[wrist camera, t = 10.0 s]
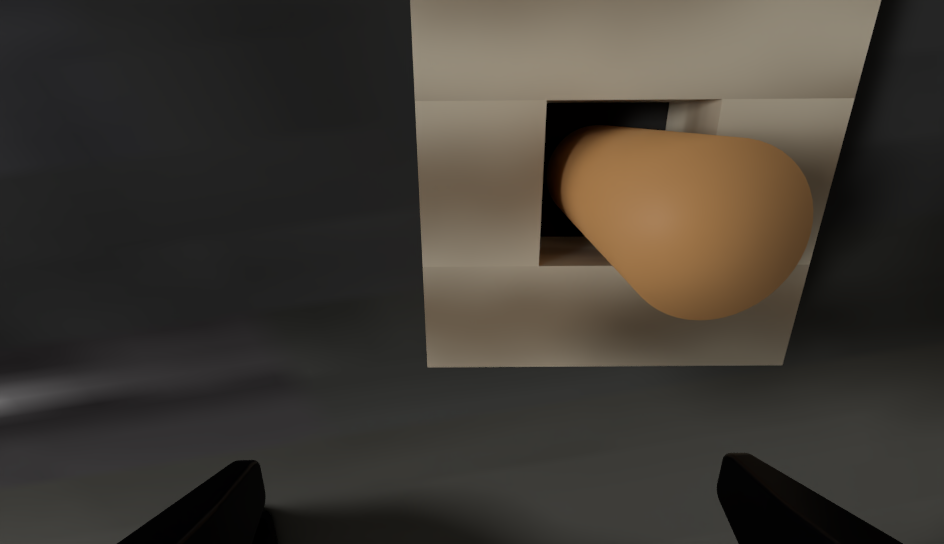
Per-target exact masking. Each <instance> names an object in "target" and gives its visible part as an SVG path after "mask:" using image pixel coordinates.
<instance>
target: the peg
mask: <svg viewBox="0 0 944 544" xmlns="http://www.w3.org/2000/svg"><path fill="white" fill-rule="evenodd" d="M547 187H548V190H549V193H550V195H551V198H552V199H553V201H554V203H555V204H556V205H557V206H558V207H559V209H560V210H561V211H562V212H563V213H564V214H565V215H566V216H567V217H568V218H569V219H570V220H571V222H572V223H573V224H574V225H575V226H576V227H577V228H578V229H579V230H580V231H581V232H582V233H583V235H584V236H585V237H586V238H587V239H588V240H589V241H590V242H591V243H592V244H593V245H594V246H595V248H596V249H597V250H598V251H599V252H600V253H601V254H602V255H603V256H604V257H605V258H606V259H607V261H608V262H609V263H610V264H611V265H612V266H613V267H614V268H615V269H616V270H617V271H618V272H619V274H620V275H621V276H622V277H623V278H624V279H625V280H626V281H627V282H628V283H629V284H630V285H631V287H632V288H633V289H634V290H635V291H636V292H637V293H638V294H639V295H640V296H641V297H642V298H643V299H644V300H645V301H646V302H647V303H648V304H650V305H651V306H653V307H654V308H656V309H657V310H659V311H661V312H663V313H665V314H667V315H670V316H674V317H677V318H681V319H687V320H713V319H718V318H724V317H727V316H731V315H734V314H737V313H739V312H742V311H744V310H746V309H748V308H750V307H752V306H754V305H756V304H758V303H759V302H760V301H762V300H763V299H765V298H766V297H768V296H769V295H770V294H771V293H773V292H774V291H775V290H776V289H777V288H778V287H779V286H780V285H781V284H782V283H783V282H784V281H785V280H786V279H787V278H788V277H789V275H790V274H791V273H792V271H793V270H794V269H795V267H796V266H797V264H798V262H799V261H800V259H801V257H802V255H803V253H804V251H805V249H806V247H807V244H808V241H809V238H810V234H811V229H812V224H813V199H812V195H811V191H810V187H809V185H808V182H807V180H806V177H805V176H804V174H803V172H802V171H801V169H800V168H799V166H798V165H797V164H796V163H795V162H794V161H793V159H792V158H790V157H789V156H788V155H787V154H786V153H784V152H783V151H782V150H780V149H778V148H776V147H775V146H773V145H771V144H768V143H765V142H762V141H759V140H755V139H750V138H741V137H730V136H719V135H708V134H697V133H686V132H675V131H663V130H652V129H641V128H630V127H619V126H608V125H590V126H585V127H582V128H580V129H577V130H575V131H573V132H572V133H570V134H569V135H567V136H566V137H565V138H564V139H563V140H562V141H561V142H560V143H559V144H558V145H557V147H556V148H555V150H554V151H553V153H552V155H551V158H550V160H549V163H548V167H547Z"/></svg>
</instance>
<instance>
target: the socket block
mask: <svg viewBox="0 0 944 544" xmlns="http://www.w3.org/2000/svg"><path fill="white" fill-rule="evenodd" d="M880 3H881V0H410V4H411V25H412V47H413V68H414V89H415V111H416V132H417V153H418V175H419V196H420V217H421V238H422V260H423V281H424V302H425V324H426V345H427V366H428V367H564V366H743V365H783V361H784V357H785V354H786V350H787V346H788V342H789V339H790V335H791V331H792V328H793V324H794V320H795V317H796V313H797V309H798V306H799V302H800V298H801V294H802V291H803V287H804V283H805V280H806V276H807V272H808V269H809V265H810V261H811V258H812V254H813V250H814V246H815V243H816V239H817V235H818V232H819V228H820V224H821V221H822V217H823V213H824V210H825V206H826V202H827V198H828V195H829V191H830V187H831V184H832V180H833V176H834V173H835V169H836V165H837V162H838V158H839V154H840V150H841V147H842V143H843V139H844V136H845V132H846V128H847V125H848V121H849V117H850V114H851V110H852V106H853V102H854V99H855V95H856V91H857V88H858V84H859V80H860V77H861V73H862V69H863V66H864V62H865V58H866V54H867V51H868V47H869V43H870V40H871V36H872V32H873V29H874V25H875V21H876V18H877V14H878V10H879V6H880ZM602 102H669V109H668V116H667V123H666V131H675V132H686V133H697V134H708V135H719V136H730V137H741V138H750V139H755V140H759V141H762V142H765V143H768V144H771V145H773V146H775V147H776V148H778V149H780V150H782V151H783V152H784V153H786V154H787V155H788V156H789V157H790V158H792V159H793V161H794V162H795V163H796V164H797V165H798V166H799V168H800V169H801V171H802V172H803V174H804V176H805V177H806V180H807V182H808V185H809V187H810V191H811V195H812V199H813V224H812V229H811V234H810V238H809V241H808V244H807V247H806V249H805V251H804V253H803V255H802V257H801V259H800V261H799V262H798V264H797V266H796V267H795V269H794V270H793V271H792V273H791V274H790V275H789V277H788V278H787V279H786V280H785V281H784V282H783V283H782V284H781V285H780V286H779V287H778V288H777V289H776V290H775V291H774V292H773V293H771V294H770V295H769V296H768V297H766V298H765V299H763V300H762V301H760V302H759V303H758V304H756V305H754V306H752V307H750V308H748V309H746V310H744V311H742V312H739V313H737V314H734V315H731V316H727V317H724V318H718V319H713V320H687V319H681V318H677V317H674V316H670V315H667V314H665V313H663V312H661V311H659V310H657V309H656V308H654V307H653V306H651V305H650V304H648V303H647V302H646V301H645V300H644V299H643V298H642V297H641V296H640V295H639V294H638V293H637V292H636V291H635V290H634V289H633V288H632V287H631V285H630V284H629V283H628V282H627V281H626V280H625V279H624V278H623V277H622V276H621V275H620V274H619V272H618V271H617V270H616V269H615V268H614V267H613V266H612V265H611V264H610V263H609V262H608V261H607V259H606V258H605V257H604V256H603V255H602V254H601V253H600V252H599V251H598V250H597V249H596V248H595V246H594V245H593V244H592V243H591V242H590V241H589V240H588V239H587V238H586V237H540V230H541V209H542V189H543V168H544V147H545V127H546V106H547V103H602Z"/></svg>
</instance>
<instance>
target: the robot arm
mask: <svg viewBox="0 0 944 544" xmlns="http://www.w3.org/2000/svg"><path fill="white" fill-rule="evenodd" d="M717 494H718V498H719V501H720V503H721V505H722V508H723V510H724V512H725V514H726V517H727V519H728V521H729V523H730V526H731V528H732V530H733V532H734V535H735V537H736V539H737V541H738V544H903V543H901V542H899V541H898V540H896V539H894V538H892V537H891V536H889V535H887V534H886V533H884V532H882V531H880V530H879V529H877V528H875V527H874V526H872V525H870V524H869V523H867V522H865V521H863V520H862V519H860V518H858V517H857V516H855V515H853V514H851V513H850V512H848V511H846V510H845V509H843V508H841V507H840V506H838V505H836V504H834V503H833V502H831V501H829V500H828V499H826V498H824V497H822V496H821V495H819V494H817V493H816V492H814V491H812V490H811V489H809V488H807V487H805V486H804V485H802V484H800V483H799V482H797V481H795V480H793V479H792V478H790V477H788V476H787V475H785V474H783V473H782V472H780V471H778V470H776V469H775V468H773V467H771V466H770V465H768V464H766V463H764V462H763V461H761V460H759V459H758V458H756V457H754V456H753V455H751V454H748V453H728V454H726V455H725V456H724V457H723V461H722V465H721V470H720V474H719V478H718V483H717ZM264 505H265V489H264V483H263V478H262V473H261V468H260V465H259V463H258V462H257V461H255V460H238V461H234V462H233V463H231V464H229V465H228V466H227V467H225V468H224V469H222V470H221V471H219V472H218V473H217V474H215V475H214V476H212V477H211V478H210V479H208V480H207V481H205V482H204V483H202V484H201V485H200V486H198V487H197V488H195V489H194V490H193V491H191V492H190V493H188V494H187V495H185V496H184V497H183V498H181V499H180V500H178V501H177V502H175V503H174V504H173V505H171V506H170V507H168V508H167V509H166V510H164V511H163V512H161V513H160V514H158V515H157V516H156V517H154V518H153V519H151V520H150V521H149V522H147V523H146V524H144V525H143V526H141V527H140V528H139V529H137V530H136V531H134V532H133V533H132V534H130V535H129V536H127V537H126V538H124V539H123V540H122V541H120V542H119V543H117V544H278V542H277V538H276V533H275V528H274V524H273V519H272V516H271V515H270V514H269V513H268V512H266V511H263V508H264Z"/></svg>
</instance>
